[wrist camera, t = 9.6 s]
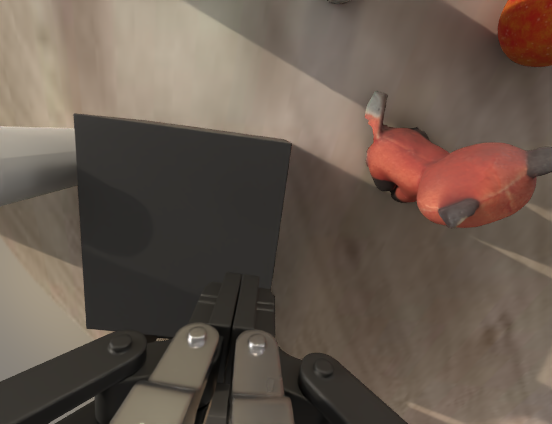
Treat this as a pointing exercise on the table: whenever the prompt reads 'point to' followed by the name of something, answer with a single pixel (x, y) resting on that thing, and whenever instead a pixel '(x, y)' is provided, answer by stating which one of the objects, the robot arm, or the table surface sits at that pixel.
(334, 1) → the grey hollow cylinder
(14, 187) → the beverage can
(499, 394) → the table surface
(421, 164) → the stuffed fox
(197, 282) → the cabinet
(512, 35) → the fruit
